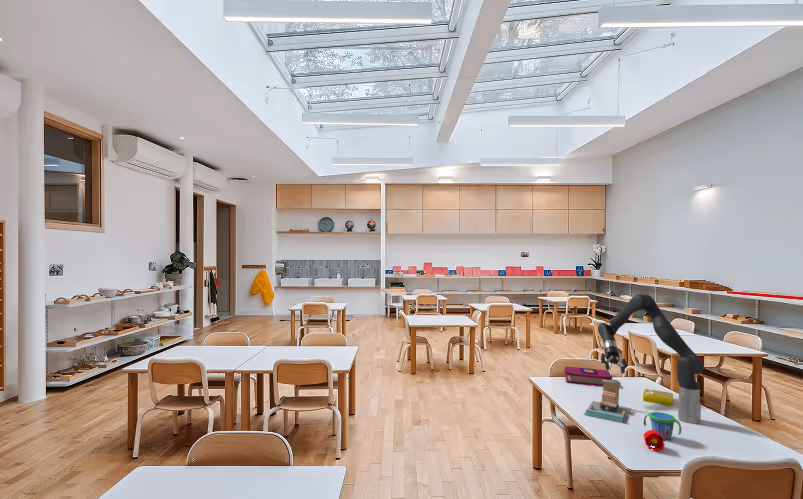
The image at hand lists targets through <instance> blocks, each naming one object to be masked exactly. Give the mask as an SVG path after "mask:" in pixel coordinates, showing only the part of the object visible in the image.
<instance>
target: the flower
mask: <svg viewBox="0 0 803 499" xmlns="http://www.w3.org/2000/svg"><path fill="white" fill-rule="evenodd" d="M643 438H644V443H645V445H646V446H647V448H648V450H650V451H655V450H656V451H655V452H658V451H661V452H662V451H663V450H664V449H665V446H666V445H665V440H664V438H663V437H662V436H661V435H660V434H659V433H658V432H657V431H654V430H652V429H650V430H647V431H646V432H644V433H643ZM651 445H652V446H655V448H652V447H650V446H651ZM651 449H653V450H651Z"/></svg>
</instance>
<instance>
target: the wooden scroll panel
mask: <svg viewBox="0 0 803 499" xmlns="http://www.w3.org/2000/svg"><path fill="white" fill-rule="evenodd" d="M602 382H603V387H602V393H601V400H600V401H599V402H600V409H602V410H604V409H605V408H606V406H610V407H611V411H612V412H616V411H617V408H618V407H619V406H620V405H619V400H620V385H621V382H620V381H616V380H615V381H613V380H610V379H609V380H602Z"/></svg>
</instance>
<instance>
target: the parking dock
mask: <svg viewBox="0 0 803 499" xmlns="http://www.w3.org/2000/svg"><path fill="white" fill-rule="evenodd" d="M600 402H601V401H595V400H592V402H591V403H590V404H589V406H588V407H587V408H586V410H585V412H584V413H583V416H586V417H592V418H596V419H601V420H604V421H610V422H614V423H618V424H619V423H620V424H624V425H625V424H626V422H627V420H628V417H629V415H630V412H631V410H632V408H631V407H627V406H620V405H619V407H618V408H617V411H616V412H612V411H611V407H610V406H606V408H605V409H604V410H602V409H600Z"/></svg>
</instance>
